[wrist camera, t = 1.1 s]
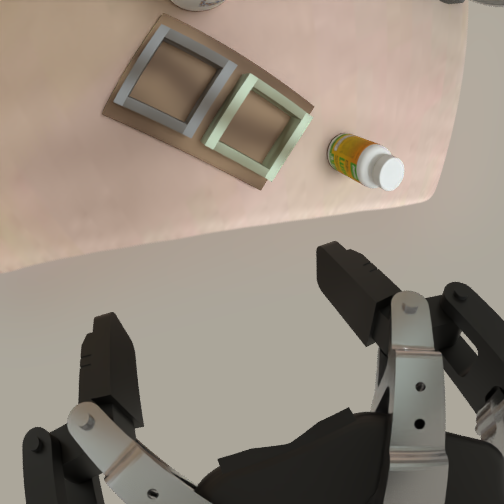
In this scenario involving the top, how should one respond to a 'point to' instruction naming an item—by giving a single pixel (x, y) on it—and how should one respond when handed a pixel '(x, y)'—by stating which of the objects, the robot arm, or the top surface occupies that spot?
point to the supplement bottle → (365, 162)
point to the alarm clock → (489, 0)
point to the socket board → (209, 102)
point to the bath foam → (197, 4)
